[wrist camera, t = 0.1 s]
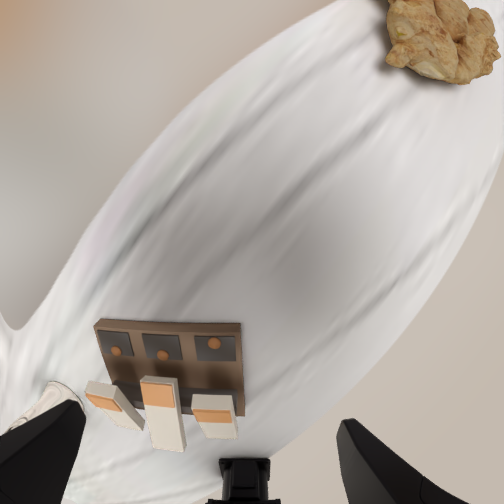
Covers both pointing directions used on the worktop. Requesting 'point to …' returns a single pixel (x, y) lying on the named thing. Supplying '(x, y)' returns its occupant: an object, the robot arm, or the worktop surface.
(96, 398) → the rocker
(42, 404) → the beer glass
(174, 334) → the switch unit
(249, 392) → the worktop surface
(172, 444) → the middle rocker
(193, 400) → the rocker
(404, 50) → the ginger root
